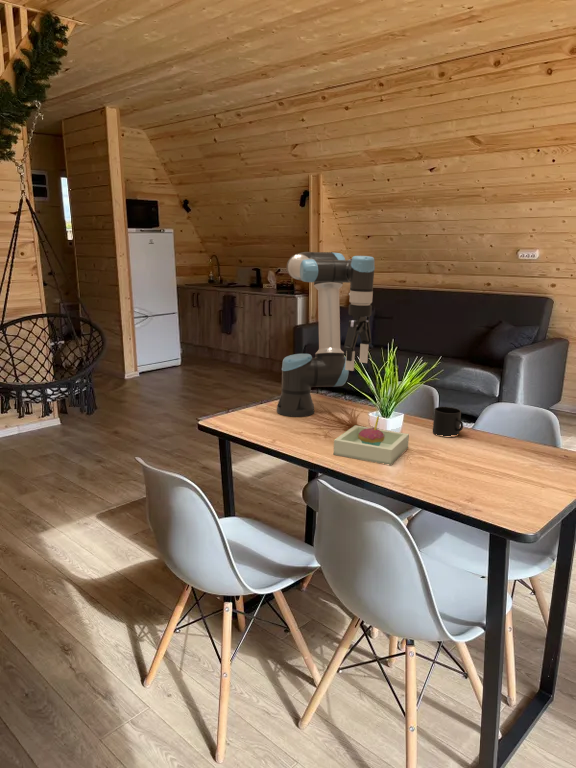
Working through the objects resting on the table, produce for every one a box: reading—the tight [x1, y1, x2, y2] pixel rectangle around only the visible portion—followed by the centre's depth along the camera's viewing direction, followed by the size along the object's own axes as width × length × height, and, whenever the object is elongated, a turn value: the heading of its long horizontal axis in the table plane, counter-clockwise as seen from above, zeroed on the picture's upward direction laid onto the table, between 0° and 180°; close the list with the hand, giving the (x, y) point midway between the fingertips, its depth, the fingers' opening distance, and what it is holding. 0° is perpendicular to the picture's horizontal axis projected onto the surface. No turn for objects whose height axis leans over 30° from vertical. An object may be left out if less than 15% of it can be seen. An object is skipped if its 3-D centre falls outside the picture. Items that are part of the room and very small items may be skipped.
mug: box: [432, 406, 464, 436], centre depth 220 cm, size 9×12×9 cm
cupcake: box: [358, 414, 385, 446], centre depth 198 cm, size 9×8×12 cm
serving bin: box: [333, 424, 410, 466], centre depth 200 cm, size 19×19×5 cm
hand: (356, 366), depth 206 cm, fingers open, 13 cm apart
